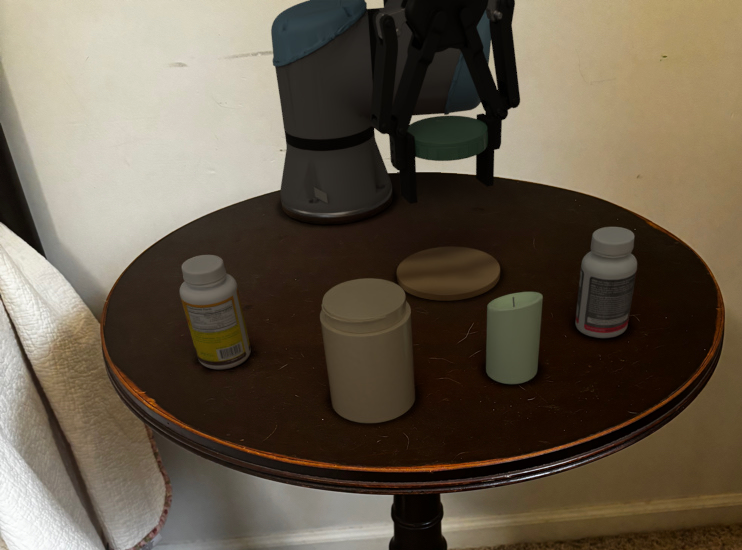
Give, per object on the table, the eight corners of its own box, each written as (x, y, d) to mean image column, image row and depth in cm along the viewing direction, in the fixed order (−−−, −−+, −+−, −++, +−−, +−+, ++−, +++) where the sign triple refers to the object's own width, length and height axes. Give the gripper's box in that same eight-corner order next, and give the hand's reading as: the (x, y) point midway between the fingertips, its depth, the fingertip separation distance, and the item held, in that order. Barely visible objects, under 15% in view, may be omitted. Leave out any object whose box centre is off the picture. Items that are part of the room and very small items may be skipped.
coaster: (381, 266, 95) (380, 260, 95) (471, 244, 98) (471, 238, 98) (422, 310, 87) (422, 304, 87) (518, 285, 90) (519, 278, 90)
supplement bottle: (216, 339, 85) (193, 247, 78) (261, 347, 84) (242, 254, 76) (187, 367, 82) (161, 272, 74) (234, 376, 80) (211, 280, 73)
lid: (502, 151, 81) (502, 133, 80) (425, 167, 79) (425, 149, 78) (465, 127, 87) (465, 110, 86) (393, 141, 85) (392, 124, 83)
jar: (320, 388, 78) (305, 288, 70) (395, 367, 80) (388, 268, 72) (348, 432, 72) (336, 330, 65) (429, 408, 74) (425, 306, 67)
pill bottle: (638, 328, 82) (654, 236, 76) (599, 345, 81) (612, 252, 74) (601, 308, 86) (613, 218, 79) (563, 324, 84) (572, 233, 77)
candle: (475, 369, 79) (476, 291, 73) (513, 351, 81) (517, 274, 75) (508, 391, 76) (512, 312, 70) (547, 372, 78) (554, 294, 72)
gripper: (527, -91, 75) (516, 160, 91) (316, -64, 70) (343, 198, 86) (570, -83, 70) (550, 182, 86) (345, -53, 65) (368, 223, 81)
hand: (447, 190), depth 86 cm, fingers closed on lid, 8 cm apart
